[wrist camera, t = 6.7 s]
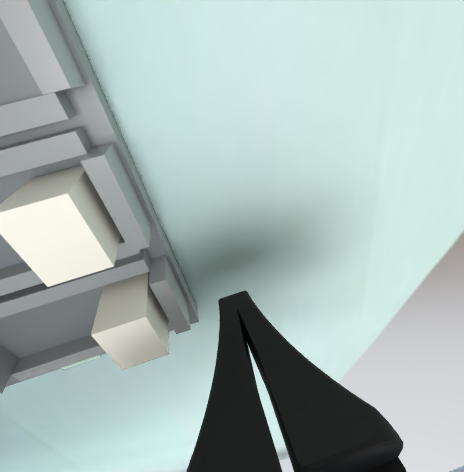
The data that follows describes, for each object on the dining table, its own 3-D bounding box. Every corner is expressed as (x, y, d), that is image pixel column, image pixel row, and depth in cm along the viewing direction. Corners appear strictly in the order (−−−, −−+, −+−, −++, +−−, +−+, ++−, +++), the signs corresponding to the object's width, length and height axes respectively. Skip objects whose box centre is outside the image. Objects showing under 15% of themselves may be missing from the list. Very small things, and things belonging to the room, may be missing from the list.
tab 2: (128, 318, 15) (122, 370, 13) (103, 284, 13) (90, 335, 11) (167, 305, 15) (169, 353, 13) (148, 270, 14) (146, 316, 11)
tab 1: (72, 239, 12) (47, 286, 9) (30, 179, 10) (-16, 216, 7) (123, 224, 12) (113, 266, 9) (90, 162, 10) (67, 193, 8)
